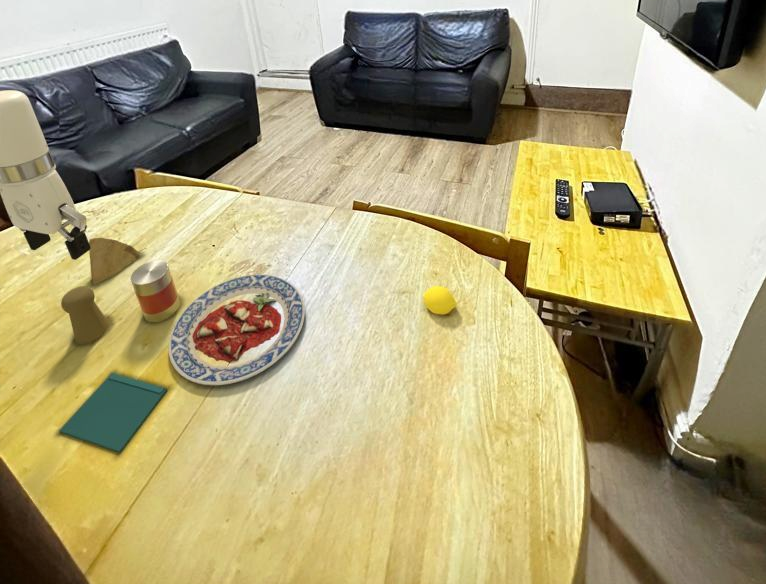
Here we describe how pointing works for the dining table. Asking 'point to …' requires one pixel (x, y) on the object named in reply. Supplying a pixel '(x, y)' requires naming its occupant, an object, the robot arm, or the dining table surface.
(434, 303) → the lemon
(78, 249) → the robot arm
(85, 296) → the brown pepper mill
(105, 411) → the notepad
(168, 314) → the tin can
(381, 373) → the dining table surface
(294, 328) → the ceramic plate
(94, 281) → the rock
